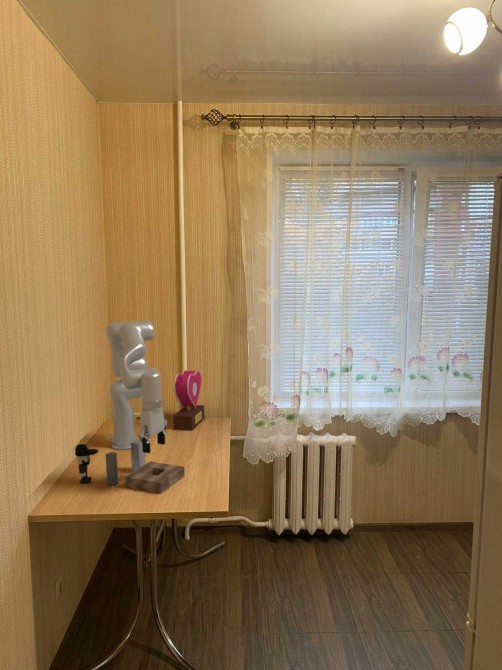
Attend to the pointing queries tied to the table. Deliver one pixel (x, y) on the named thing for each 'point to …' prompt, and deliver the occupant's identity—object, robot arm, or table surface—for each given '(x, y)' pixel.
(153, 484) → the bore block
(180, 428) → the decorative clock
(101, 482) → the table surface
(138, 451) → the square bit
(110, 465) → the round bit
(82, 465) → the toy
